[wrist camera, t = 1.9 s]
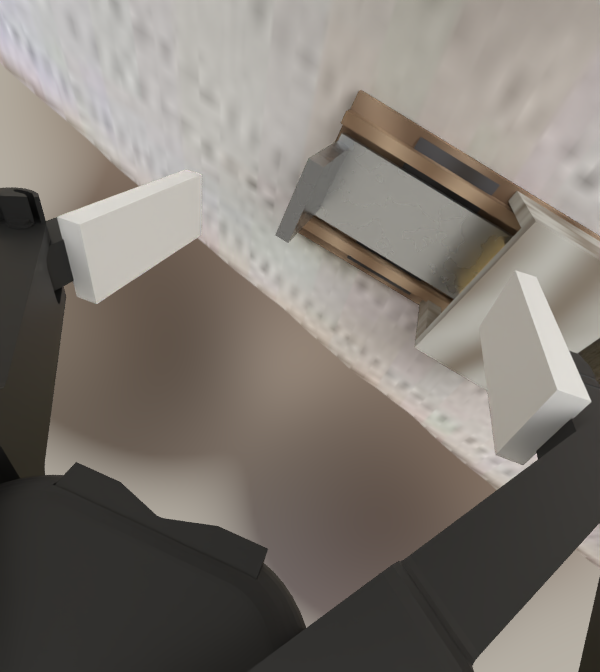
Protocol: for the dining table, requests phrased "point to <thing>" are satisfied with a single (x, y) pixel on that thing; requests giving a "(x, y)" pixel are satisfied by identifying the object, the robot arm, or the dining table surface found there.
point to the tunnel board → (518, 254)
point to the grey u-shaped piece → (398, 219)
